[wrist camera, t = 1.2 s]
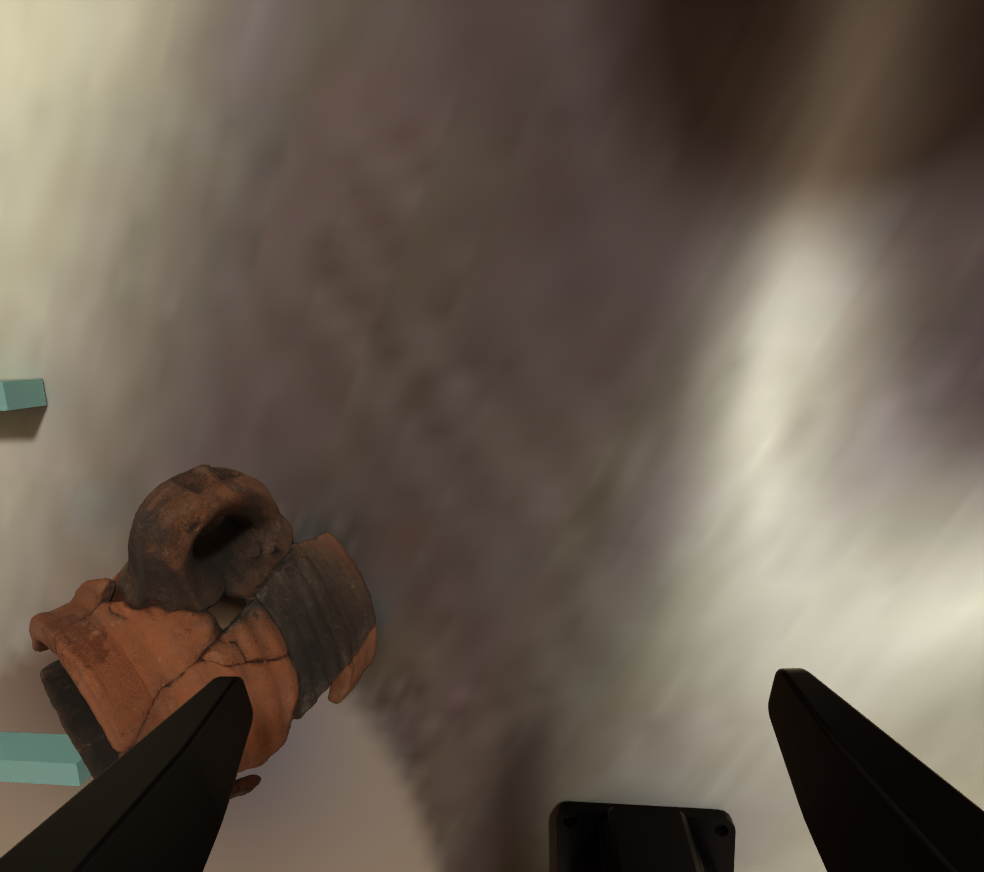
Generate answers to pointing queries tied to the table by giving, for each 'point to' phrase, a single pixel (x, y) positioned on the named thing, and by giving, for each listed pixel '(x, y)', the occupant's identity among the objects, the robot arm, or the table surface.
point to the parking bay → (35, 751)
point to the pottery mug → (206, 621)
